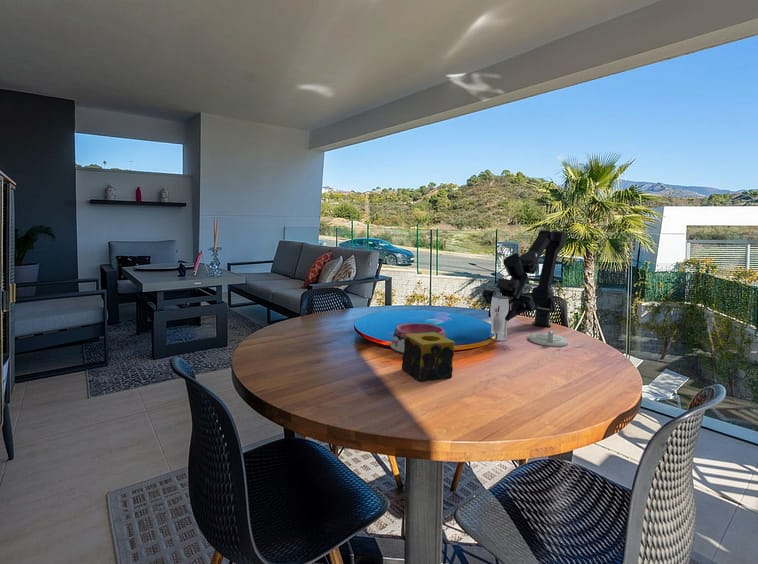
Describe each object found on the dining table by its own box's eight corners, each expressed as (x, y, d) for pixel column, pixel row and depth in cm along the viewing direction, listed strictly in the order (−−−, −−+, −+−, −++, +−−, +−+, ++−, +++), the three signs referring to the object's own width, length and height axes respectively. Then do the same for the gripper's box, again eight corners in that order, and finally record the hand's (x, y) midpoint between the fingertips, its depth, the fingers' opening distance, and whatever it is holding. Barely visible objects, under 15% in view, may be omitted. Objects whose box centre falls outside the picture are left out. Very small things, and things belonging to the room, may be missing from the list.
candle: (400, 369, 114) (402, 333, 112) (433, 365, 118) (435, 331, 116) (418, 383, 104) (420, 344, 103) (453, 378, 108) (455, 341, 107)
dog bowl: (382, 342, 140) (383, 322, 139) (432, 339, 146) (433, 320, 145) (402, 359, 122) (403, 337, 121) (458, 355, 128) (460, 334, 127)
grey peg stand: (527, 334, 156) (528, 322, 155) (565, 338, 152) (566, 326, 152) (529, 343, 144) (530, 330, 143) (570, 348, 140) (572, 334, 139)
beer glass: (510, 341, 145) (514, 299, 143) (490, 340, 145) (494, 298, 143) (505, 336, 152) (508, 295, 150) (486, 335, 152) (489, 295, 150)
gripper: (486, 267, 155) (467, 299, 149) (534, 273, 142) (515, 308, 135) (496, 287, 161) (478, 318, 155) (542, 294, 148) (525, 328, 142)
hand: (497, 318), depth 147 cm, fingers closed on beer glass, 7 cm apart
